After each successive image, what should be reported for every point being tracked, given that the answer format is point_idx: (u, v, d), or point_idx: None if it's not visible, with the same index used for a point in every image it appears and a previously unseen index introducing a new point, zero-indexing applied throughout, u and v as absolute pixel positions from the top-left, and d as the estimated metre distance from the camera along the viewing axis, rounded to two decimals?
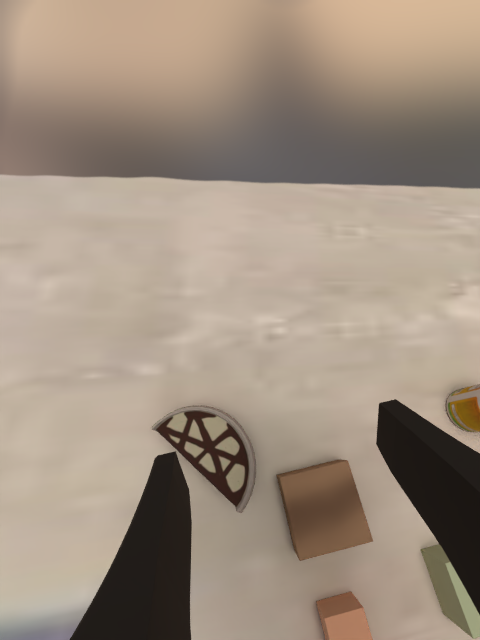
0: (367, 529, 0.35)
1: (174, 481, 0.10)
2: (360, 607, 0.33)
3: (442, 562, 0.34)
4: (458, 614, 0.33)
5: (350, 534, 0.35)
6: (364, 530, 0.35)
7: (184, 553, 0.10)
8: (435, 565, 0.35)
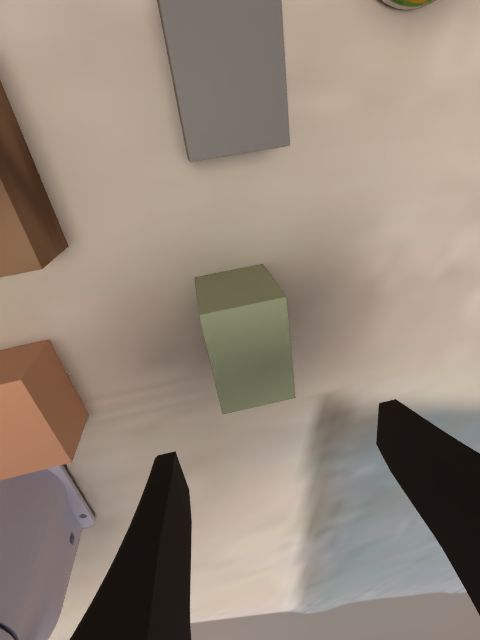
0: (24, 243, 0.13)
1: (174, 481, 0.10)
2: (17, 379, 0.16)
3: (199, 310, 0.15)
4: None
5: None
6: (16, 245, 0.13)
7: (184, 553, 0.10)
8: None
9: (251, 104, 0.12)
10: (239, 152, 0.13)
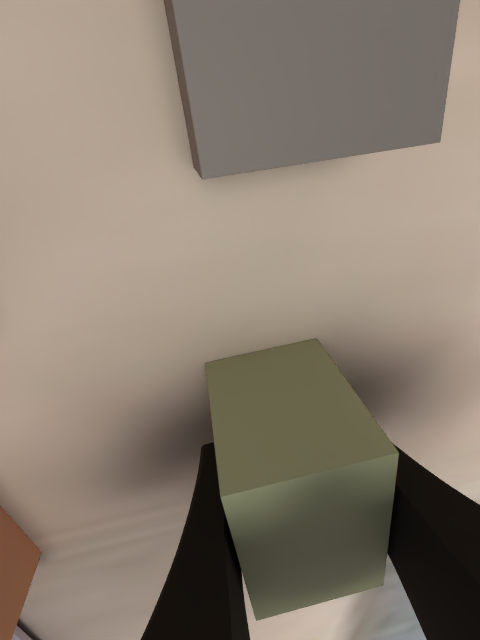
0: None
1: None
2: None
3: (219, 475, 0.08)
4: None
5: None
6: None
7: None
8: None
9: (365, 32, 0.05)
10: (322, 157, 0.05)
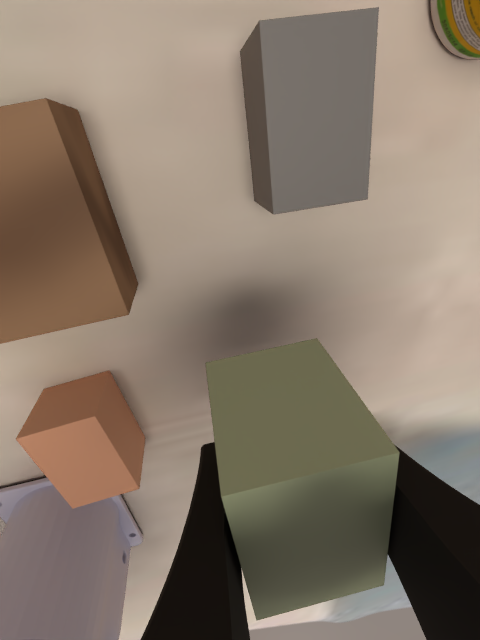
0: (115, 292, 0.14)
1: None
2: (91, 415, 0.17)
3: (219, 475, 0.08)
4: None
5: (69, 302, 0.14)
6: (107, 294, 0.14)
7: None
8: None
9: (336, 162, 0.13)
10: (320, 205, 0.13)
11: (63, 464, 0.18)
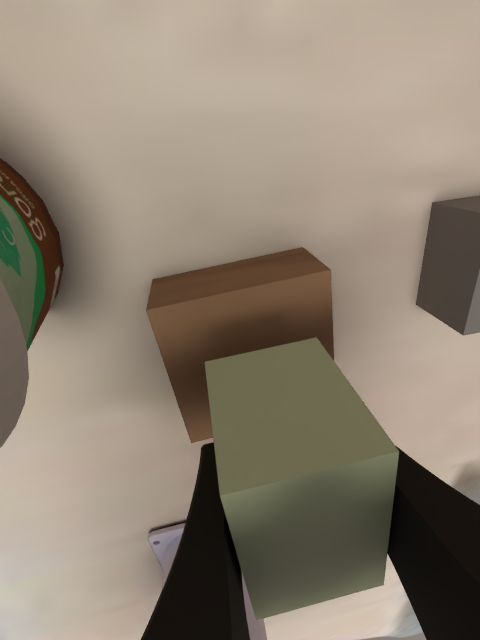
0: None
1: None
2: None
3: (218, 474, 0.07)
4: None
5: None
6: None
7: None
8: None
9: None
10: None
11: None
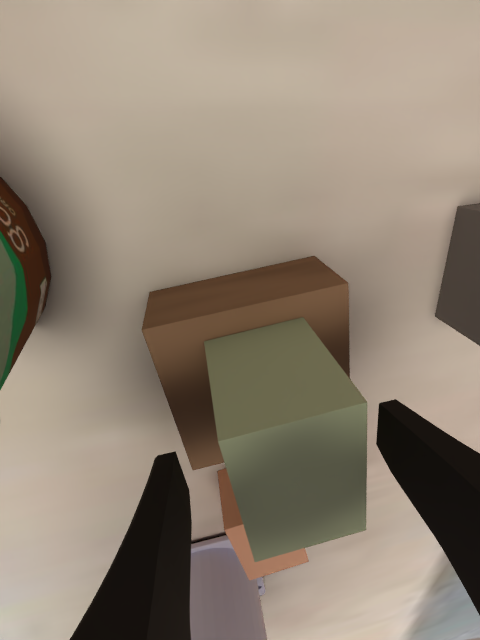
0: None
1: (174, 481, 0.10)
2: None
3: (217, 426, 0.09)
4: None
5: None
6: None
7: (184, 553, 0.10)
8: None
9: None
10: None
11: None
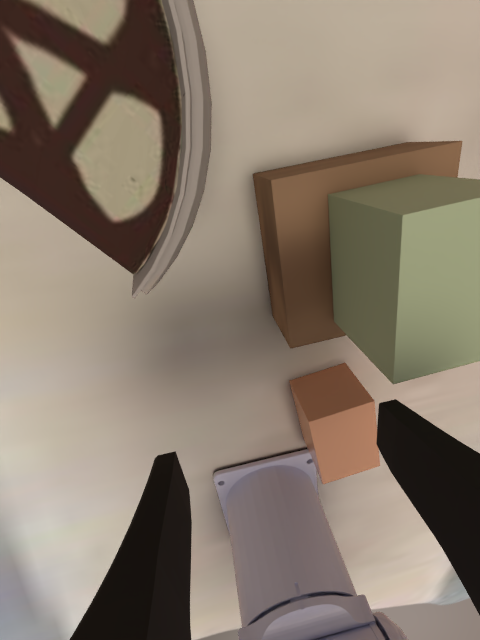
0: None
1: (174, 481, 0.10)
2: (369, 400, 0.19)
3: (391, 214, 0.10)
4: (374, 335, 0.12)
5: None
6: None
7: (184, 553, 0.10)
8: (358, 228, 0.12)
9: None
10: None
11: (333, 444, 0.20)
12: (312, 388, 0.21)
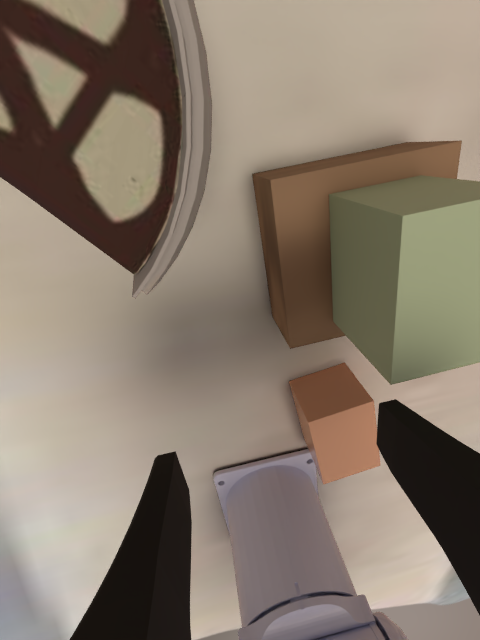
0: None
1: (174, 481, 0.10)
2: (368, 400, 0.19)
3: (391, 215, 0.10)
4: (373, 335, 0.12)
5: None
6: None
7: (184, 553, 0.10)
8: (358, 228, 0.12)
9: None
10: None
11: (333, 444, 0.20)
12: (312, 388, 0.21)
